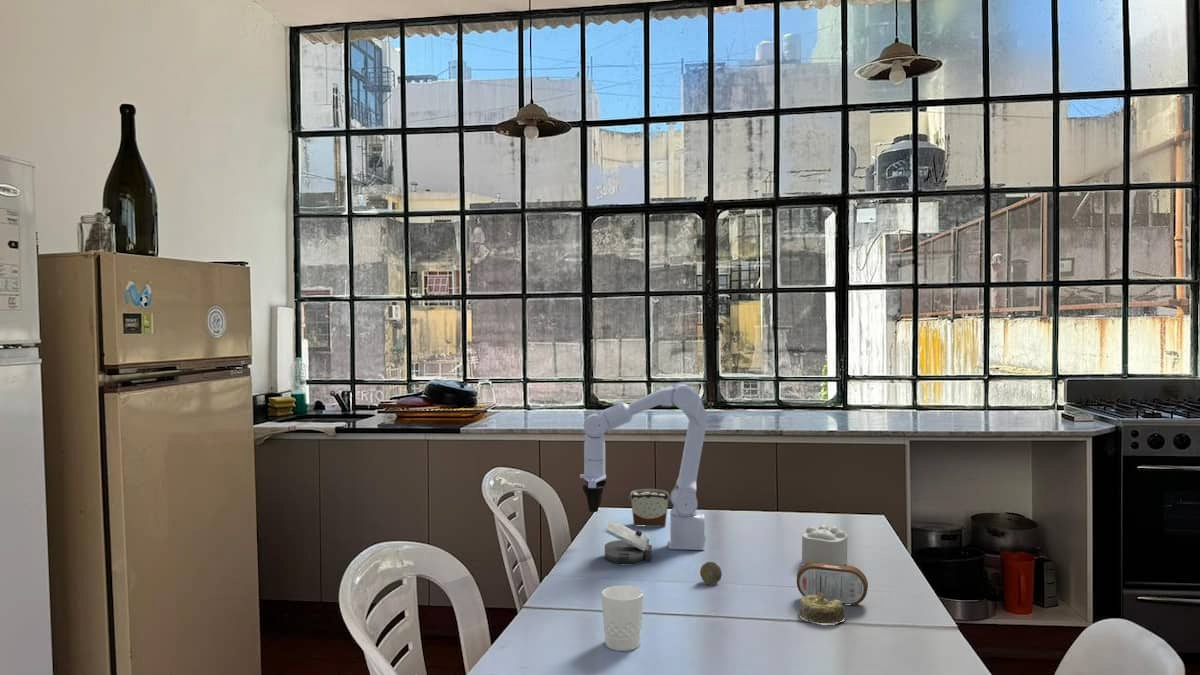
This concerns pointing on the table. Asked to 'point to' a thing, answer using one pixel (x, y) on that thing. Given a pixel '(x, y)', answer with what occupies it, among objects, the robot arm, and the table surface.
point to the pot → (626, 553)
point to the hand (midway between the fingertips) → (594, 508)
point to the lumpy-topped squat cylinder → (824, 545)
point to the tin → (832, 582)
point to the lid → (628, 535)
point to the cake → (821, 609)
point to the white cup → (622, 617)
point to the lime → (710, 573)
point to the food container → (649, 507)
